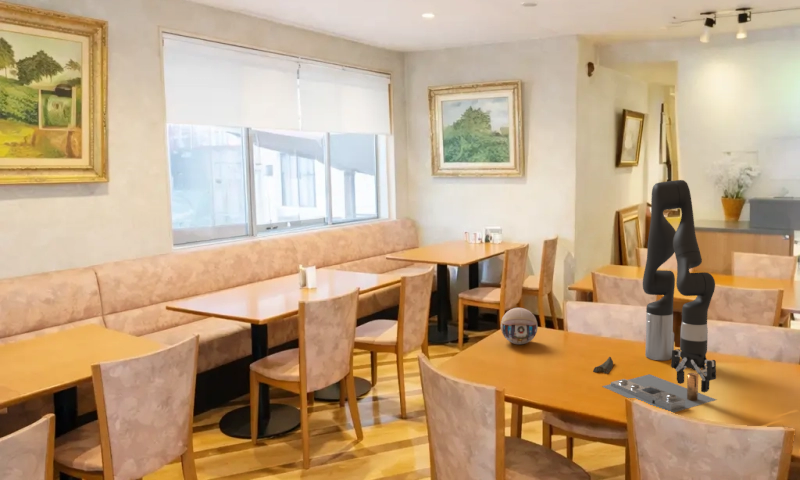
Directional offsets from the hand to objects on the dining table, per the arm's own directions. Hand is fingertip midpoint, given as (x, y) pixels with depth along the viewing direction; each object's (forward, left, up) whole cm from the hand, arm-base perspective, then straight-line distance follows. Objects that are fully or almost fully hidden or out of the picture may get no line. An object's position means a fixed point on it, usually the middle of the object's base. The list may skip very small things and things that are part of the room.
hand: (692, 387), depth 190 cm
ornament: (+10, -75, -5) cm, 76 cm away
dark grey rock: (+2, -35, -5) cm, 36 cm away
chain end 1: (+10, -13, -4) cm, 16 cm away
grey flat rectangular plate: (+5, -9, -4) cm, 11 cm away
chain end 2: (+10, -4, -4) cm, 11 cm away
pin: (0, 0, -4) cm, 4 cm away
